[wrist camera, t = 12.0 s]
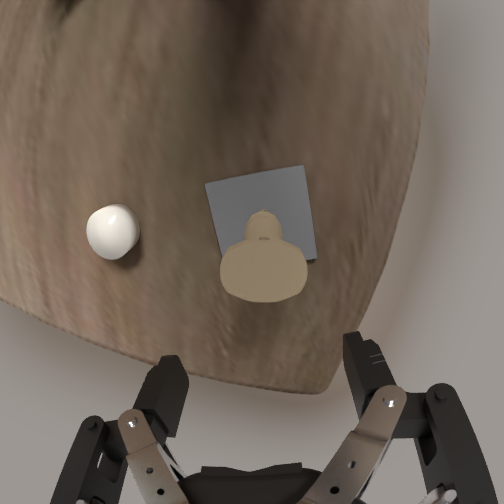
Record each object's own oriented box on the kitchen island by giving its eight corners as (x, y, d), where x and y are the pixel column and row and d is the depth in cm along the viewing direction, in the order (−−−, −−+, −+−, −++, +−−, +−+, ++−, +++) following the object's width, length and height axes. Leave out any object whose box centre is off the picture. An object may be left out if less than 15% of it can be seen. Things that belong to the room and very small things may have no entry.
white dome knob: (93, 209, 36) (80, 216, 33) (132, 197, 36) (120, 203, 32) (107, 254, 39) (96, 263, 35) (146, 245, 38) (136, 255, 35)
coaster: (206, 182, 34) (204, 184, 33) (302, 164, 33) (303, 165, 32) (227, 270, 39) (226, 273, 38) (315, 255, 37) (317, 258, 36)
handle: (236, 201, 34) (218, 241, 20) (290, 202, 34) (309, 242, 20) (237, 239, 36) (221, 301, 22) (288, 240, 36) (304, 302, 22)
